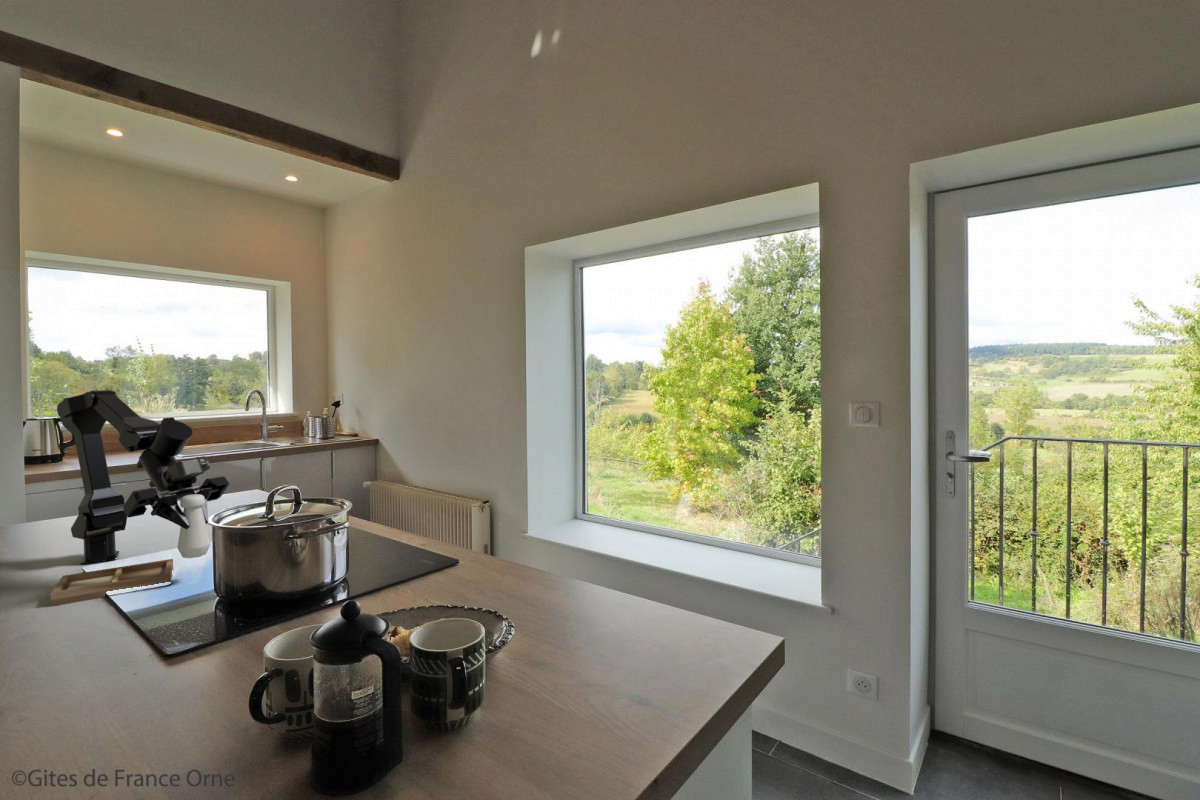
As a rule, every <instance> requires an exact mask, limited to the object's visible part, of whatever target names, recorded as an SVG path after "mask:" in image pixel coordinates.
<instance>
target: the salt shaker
mask: <svg viewBox="0 0 1200 800" xmlns="http://www.w3.org/2000/svg"><path fill="white" fill-rule="evenodd" d="M179 500H180V501H179V502H180V503H179V507H180V508H183V510H182V512H183V513H184V515H185V516H186V518H187V520H188V522H189V524H190V527H189V528H188V529H185V528H183V527H181V526H180V529H179V530H180V531H179V536H178V542H177V550H178V552H179V553H180V555H181V557H182V558H183V559H193V558H195V559H196V558H200V557H202V556H205V555H207V553H208V551H209V549H210V546H211V542H212V541H211V538H210V534H209V530H208V528H207V524H206V523H205V519H204V515H203V511H202V507H201V506H202V505H204V503H205V498H204V496H203V495H200V494H192V495H187V496H184V497H182V498H181V499H179Z"/></svg>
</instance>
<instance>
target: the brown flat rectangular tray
mask: <svg viewBox="0 0 1200 800" xmlns="http://www.w3.org/2000/svg"><path fill="white" fill-rule="evenodd" d="M172 570H173V571H174V558H170V559H163V560H156V561H150V562H143V563H137V564H130V565H125V566H119V567H118V566H117V567H112V568H111V567H110V568H104V569H98V570H97V569H96V570H92V571H84V572H79V573H72V574H66V575H62V576H61V578H60V579H59V581H58V583H57V584H56V585H55V586H54V588H53V589H52V591H51V592H50V606H51V607H56V606H60V605H65V604H71V603H73V604H74V603H79V602H82V601H84V602H85V601H89V600H93V599H100V598H105V594H106V592H107V591H113V590H119V589H126V588H133V587H140V586H141V587H142V586H148V585H154V584H159V583H165V582H171V583H172V581H171V577H172V578H173V575H172Z"/></svg>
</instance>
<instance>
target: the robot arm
mask: <svg viewBox="0 0 1200 800" xmlns="http://www.w3.org/2000/svg"><path fill="white" fill-rule="evenodd" d="M56 407H57V408H56V412H57V415H58V417H60V421H61V424H62V426H63V427H64V428H65V429H66V430H67V431H68V432H70V433H71V434H72V436H73V437H74V442H75V448H76V453H77V459H78V464H79V469H80V475H81V478H82V479H81V480H82V486H83V490H84V496H83V497H82V500H81V502H80V504H79V505H78V508H77V510H78V515H77V517H76V519H75V520H74V522H73V523H72V526H71V527H70V532H71V536H72V538H73V539H74V538H75V539H79V540H83V555H84V556H83V558H82V559H81V560H80V562H79V563H80V565H88V564H95V563H100V562H99V561H102V562H104V561H103V560H109V561H111V560H110V559H115V558H117V559H118V557H119V555H120V553H119V552H120V551H119V550H116V532H120V531H121V532H122V531H125V530H126V525H127V521H128V520H127V519H128V518H130V519H131V518H133V517H139V516H144V514H145V513H146V512H147V509H148V508H147V507H146V506H149V505H150V507H151V508H152V510H151V512H150V515H151V516H157V517H160V518H162V519H165V520H167V521H169V522H171V523H173V524H175V525H177V526H178V527H180V528H181V527H183V528H185V529H188V528H189V527H190V524H189V522H188V520H187V518H186V516H185V515H184V513H183V509H181V508H182V507H181V506H180V504H179V503H178V501H179V500H181V498H182V497H184V496H187V495H192V494H200V495H203V496H204V498H205V503H204V505H202V506H201V507H202V511H203V515H204V519H205V523H206V525H207V524H208V523H209V514H208V513H209V511H208V502H211V501H217V500H219V499H220V498H221V497H222V496H223V494H224V493H225V491H226V490H227V489H228V487H229V485H231V484H230V482H229V480H228V479H227V478H226V477H225V476H222V475H220V476H215V477H214V476H212V477H208V478H205V480H204V481H203V482H202V484H201V485H196V486H193V484H196V482H197V480H198V479H197V477H198V476H200V475H203V474H204V473H205V472H207V471H208V470H210V468H211V465H210V462H209V459H207V457H206V456H205V455H204V456H203V455H202V456H196V457H195V458H193V459H190V460H189V459H188V460H181V461H178V460H177V459H176V456H179V455H180V454H181V452H182V451H183V450H184V448H185V447H186V445H187V444H188V442H189V440H190V439H191V438H192V436H193V429H192V427H191V426H189V425H188V424H186V423H185V422H182V421H179V420H176V418H174V417H163V418H162V419H161V422H160V423H158V422H157V421H155V420H152V419H149V418H148V419H147V418H145V417H142V416H140V415H138V413H136V412H135V411H134V410H133V409H132V408H130V407H129V405H127V404H126V403H125V402H124V401H122V399H121V398H119V397H118V394H117V393H116V391H114V390H110V389H107V390H106V389H102V390H100V389H98V390H96V389H95V390H90V391H86V392H84V393H83V394H78V395H75V396H72V397H71V396H70V397H65V398H63V399H62V401H60V402H59V403H58V404H57V406H56ZM106 422H108V423H109V425H111V426H112V427H113V428H114V429H116V430H117V432H118V433H119V436H118V442H119V443H120V444H121V446H122V447H123V448H124V449H125V450H126V452H129V453H133V452H134V453H135V452H141V453H140V455H139V456H138V460H137V463H136V469H138V470H139V469H144V470H145V472H146V474H147V475H148V477H149V479H150V482H149V483H148V486H149V488H143V489H142V488H141V489H137V490H133V491H132V492H131V493H130V495H129V497H128V499H127V500H126V502H125V497H124V496H123V494H121V493H120V494H118V493H117V492H115V491H114V490H113V489H112V486H111V485H112V484H111V478H110V475H109V474H110V473H109V469H108V464H107V457H106V453H105V448H104V443H103V436H102V433H101V432H102V429H103V427H104V426H105V424H106ZM118 554H119V555H118ZM117 556H118V557H117ZM115 560H116V559H115Z"/></svg>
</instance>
